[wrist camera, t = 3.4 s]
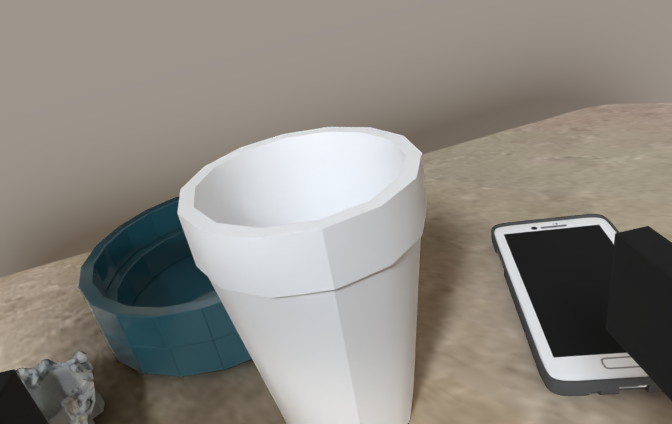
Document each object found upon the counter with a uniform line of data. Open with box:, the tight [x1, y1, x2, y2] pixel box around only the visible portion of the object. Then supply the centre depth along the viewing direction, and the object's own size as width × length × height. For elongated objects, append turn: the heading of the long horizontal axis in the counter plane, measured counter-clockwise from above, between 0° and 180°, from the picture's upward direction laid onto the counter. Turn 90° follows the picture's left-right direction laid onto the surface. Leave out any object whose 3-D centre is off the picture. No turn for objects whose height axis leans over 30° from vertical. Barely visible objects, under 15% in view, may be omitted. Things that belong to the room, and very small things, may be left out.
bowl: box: [79, 197, 252, 377], centre depth 35 cm, size 16×16×5 cm
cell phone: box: [492, 214, 662, 396], centre depth 30 cm, size 8×15×1 cm, turn 176°
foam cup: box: [177, 127, 427, 424], centre depth 23 cm, size 10×9×13 cm
